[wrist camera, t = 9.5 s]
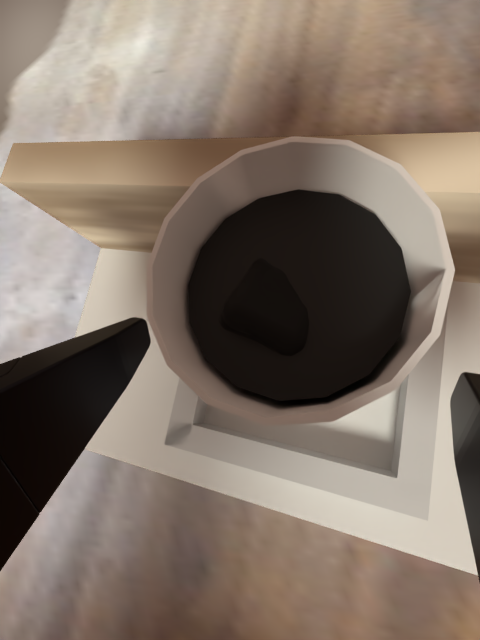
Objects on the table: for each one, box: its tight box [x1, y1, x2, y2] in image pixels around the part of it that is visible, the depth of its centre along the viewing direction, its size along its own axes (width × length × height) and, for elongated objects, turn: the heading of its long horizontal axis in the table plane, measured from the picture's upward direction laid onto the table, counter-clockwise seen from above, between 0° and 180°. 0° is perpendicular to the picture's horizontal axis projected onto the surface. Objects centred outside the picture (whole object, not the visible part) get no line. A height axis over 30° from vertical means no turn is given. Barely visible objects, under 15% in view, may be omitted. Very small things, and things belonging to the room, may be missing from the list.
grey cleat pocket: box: [75, 248, 480, 575], centre depth 17 cm, size 12×22×4 cm, turn 78°
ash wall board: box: [0, 132, 480, 283], centre depth 16 cm, size 2×22×9 cm, turn 78°
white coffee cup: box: [147, 136, 455, 426], centre depth 12 cm, size 7×7×10 cm
